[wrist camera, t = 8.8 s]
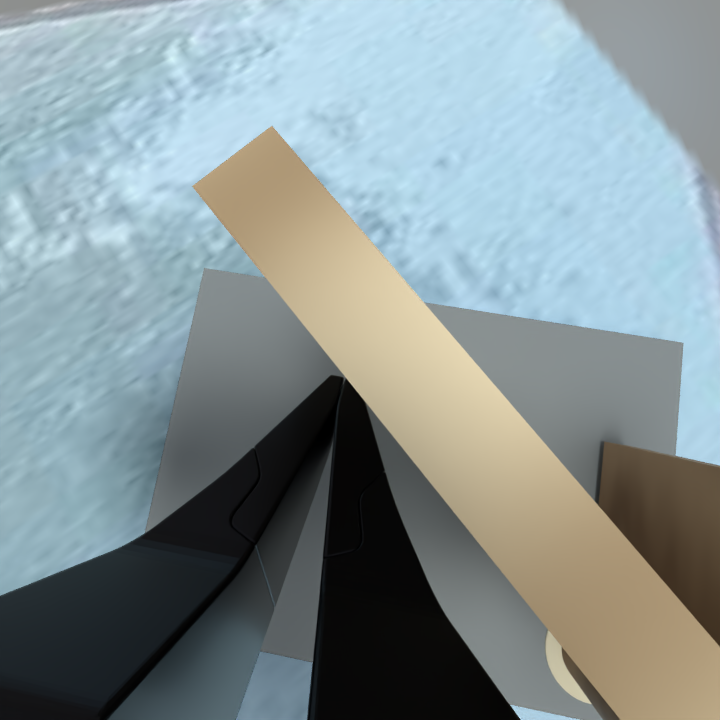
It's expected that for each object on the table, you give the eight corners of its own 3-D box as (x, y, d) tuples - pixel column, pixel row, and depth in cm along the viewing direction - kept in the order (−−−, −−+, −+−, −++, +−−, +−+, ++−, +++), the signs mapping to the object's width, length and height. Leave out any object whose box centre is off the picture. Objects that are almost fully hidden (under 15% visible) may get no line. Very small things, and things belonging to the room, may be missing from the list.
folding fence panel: (583, 615, 13) (1712, 1801, 2) (563, 633, 13) (1601, 1942, 2) (344, 322, 14) (271, 125, 4) (324, 338, 14) (192, 186, 4)
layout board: (642, 720, 14) (657, 738, 13) (134, 612, 15) (122, 623, 14) (671, 344, 16) (685, 342, 15) (210, 272, 17) (203, 267, 16)
